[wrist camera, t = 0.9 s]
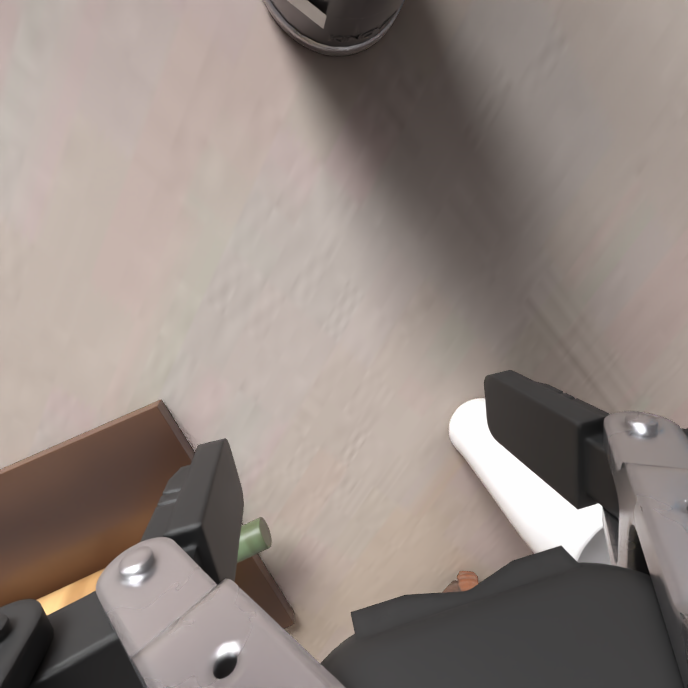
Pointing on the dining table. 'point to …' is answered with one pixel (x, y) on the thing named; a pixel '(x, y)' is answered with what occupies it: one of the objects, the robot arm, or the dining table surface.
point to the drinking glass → (526, 492)
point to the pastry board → (99, 508)
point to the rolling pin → (250, 544)
